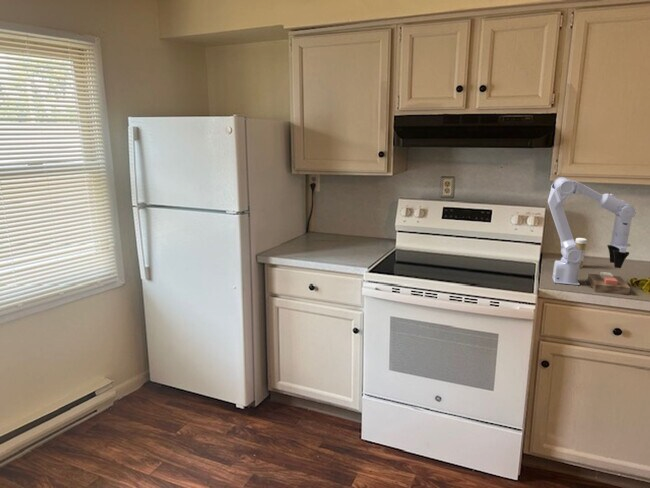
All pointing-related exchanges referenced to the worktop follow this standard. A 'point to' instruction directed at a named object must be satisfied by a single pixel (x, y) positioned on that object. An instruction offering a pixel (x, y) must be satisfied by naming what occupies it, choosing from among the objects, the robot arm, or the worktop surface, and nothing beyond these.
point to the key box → (608, 285)
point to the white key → (605, 275)
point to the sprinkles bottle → (581, 248)
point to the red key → (610, 281)
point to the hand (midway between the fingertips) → (615, 265)
